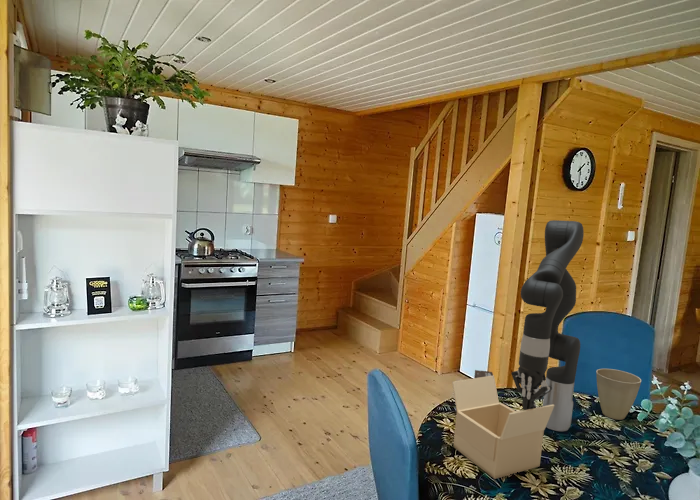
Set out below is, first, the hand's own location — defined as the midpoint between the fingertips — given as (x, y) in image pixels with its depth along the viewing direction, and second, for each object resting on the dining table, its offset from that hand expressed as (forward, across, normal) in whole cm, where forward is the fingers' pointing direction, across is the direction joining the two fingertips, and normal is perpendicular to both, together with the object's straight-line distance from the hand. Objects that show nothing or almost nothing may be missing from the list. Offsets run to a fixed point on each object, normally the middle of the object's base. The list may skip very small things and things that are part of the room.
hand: (527, 410), depth 132 cm
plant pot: (+19, +16, -66) cm, 71 cm away
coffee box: (+20, +32, -14) cm, 40 cm away
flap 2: (+3, 0, 0) cm, 3 cm away
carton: (+20, +10, 0) cm, 22 cm away
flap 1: (+3, +21, 0) cm, 21 cm away
